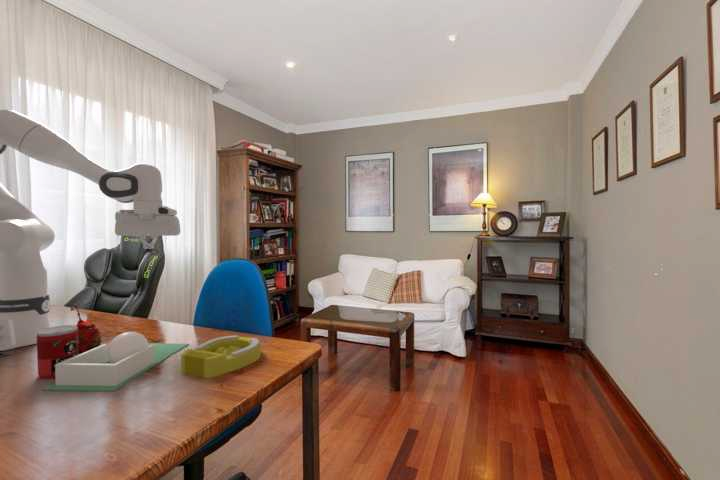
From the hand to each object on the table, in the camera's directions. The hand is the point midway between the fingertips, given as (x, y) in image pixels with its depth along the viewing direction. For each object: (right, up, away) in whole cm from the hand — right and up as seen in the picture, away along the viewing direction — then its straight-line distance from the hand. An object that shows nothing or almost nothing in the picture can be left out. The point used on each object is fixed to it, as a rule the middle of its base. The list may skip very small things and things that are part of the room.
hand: (148, 248), depth 122 cm
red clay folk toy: (-5, -30, -22) cm, 37 cm away
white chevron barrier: (+14, -30, -38) cm, 50 cm away
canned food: (+1, -30, -37) cm, 48 cm away
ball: (+15, -26, -33) cm, 45 cm away
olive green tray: (+39, -31, -29) cm, 57 cm away
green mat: (+14, -30, -31) cm, 45 cm away
